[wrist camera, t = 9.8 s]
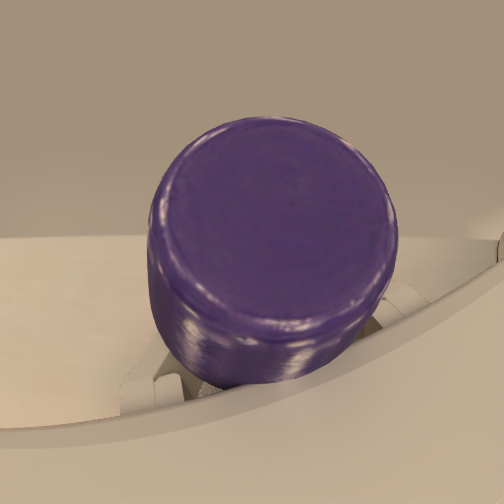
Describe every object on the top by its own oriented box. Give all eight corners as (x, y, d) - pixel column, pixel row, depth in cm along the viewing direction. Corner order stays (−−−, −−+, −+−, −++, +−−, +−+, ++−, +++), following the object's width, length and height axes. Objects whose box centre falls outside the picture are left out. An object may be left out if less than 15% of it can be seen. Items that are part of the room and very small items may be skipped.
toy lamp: (186, 346, 18) (9, 291, 3) (221, 283, 20) (216, 41, 4) (255, 382, 18) (398, 494, 2) (288, 317, 19) (482, 172, 4)
